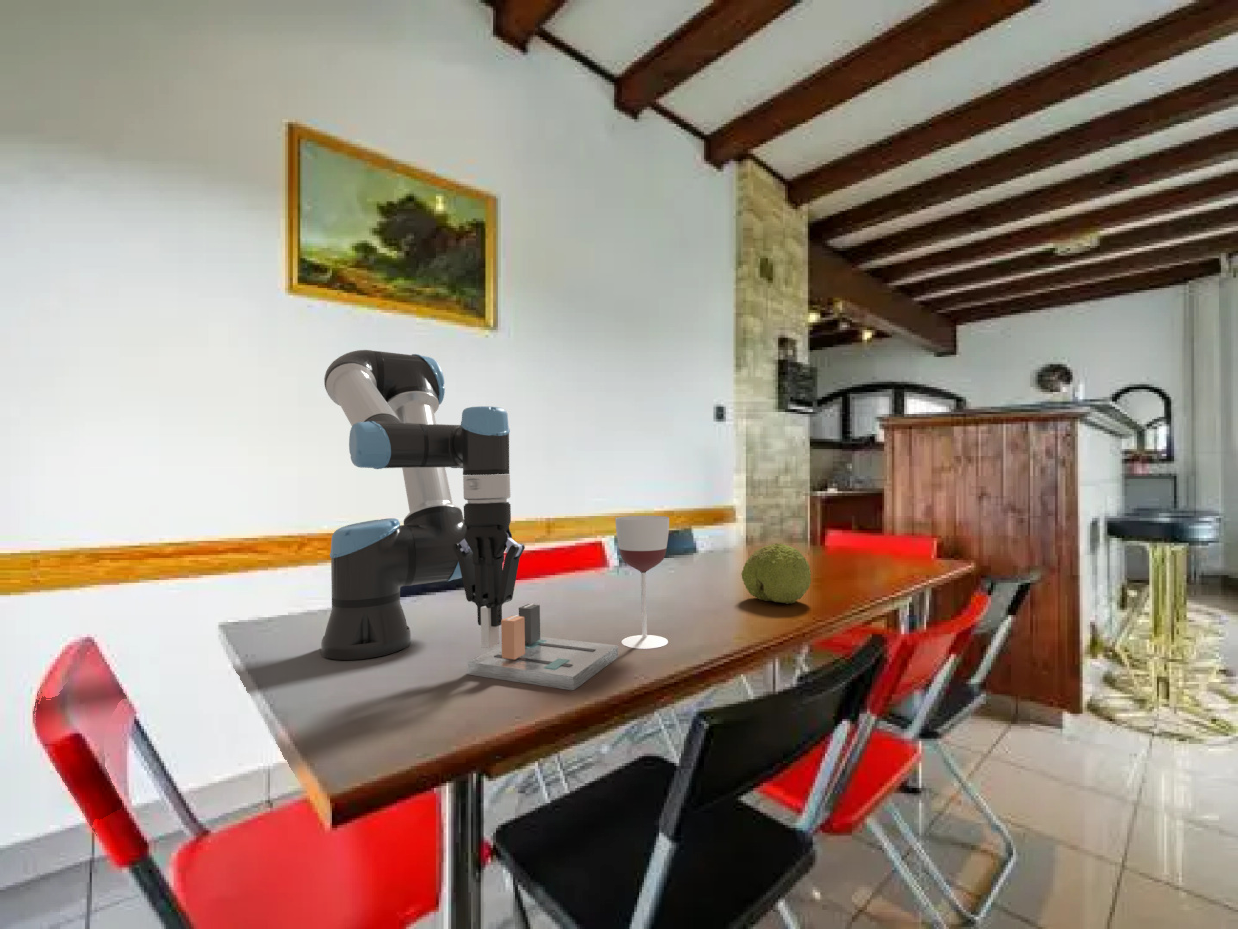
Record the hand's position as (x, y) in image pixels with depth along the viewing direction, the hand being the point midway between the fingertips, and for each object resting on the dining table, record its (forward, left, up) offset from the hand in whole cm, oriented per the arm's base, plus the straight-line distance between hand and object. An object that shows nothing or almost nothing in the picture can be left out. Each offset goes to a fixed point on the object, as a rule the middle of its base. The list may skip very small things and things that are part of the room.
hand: (490, 645), depth 94 cm
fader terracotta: (+4, 0, -1) cm, 5 cm away
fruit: (+36, +63, -4) cm, 73 cm away
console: (+8, +4, -4) cm, 10 cm away
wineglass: (+18, +22, -4) cm, 29 cm away
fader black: (+2, +8, -1) cm, 9 cm away
